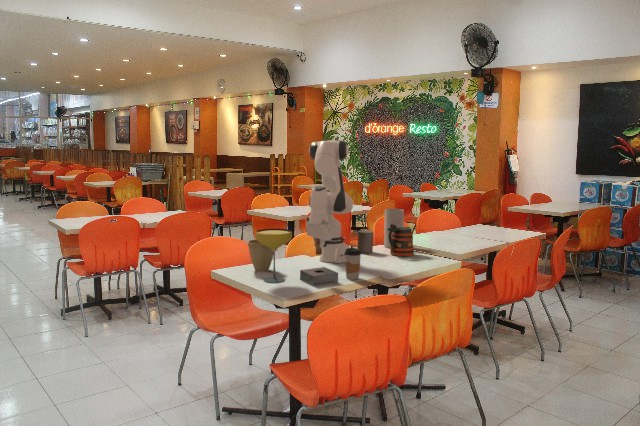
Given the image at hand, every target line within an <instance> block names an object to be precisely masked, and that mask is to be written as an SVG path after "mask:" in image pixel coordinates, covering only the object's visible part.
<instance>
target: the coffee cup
mask: <svg viewBox="0 0 640 426" xmlns="http://www.w3.org/2000/svg"><path fill="white" fill-rule="evenodd" d="M361 255H362V254H361V251H360V249H358V247H357V248H356V247H350V248H348V249H346V251H345V262H344V263H345V272H346V273H345V276H346V279H347V280H350V279H351V280H352V281H353V280H354V281H355V279H356V280H359V278H360V267H361ZM351 280H350V281H351Z"/></svg>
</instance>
